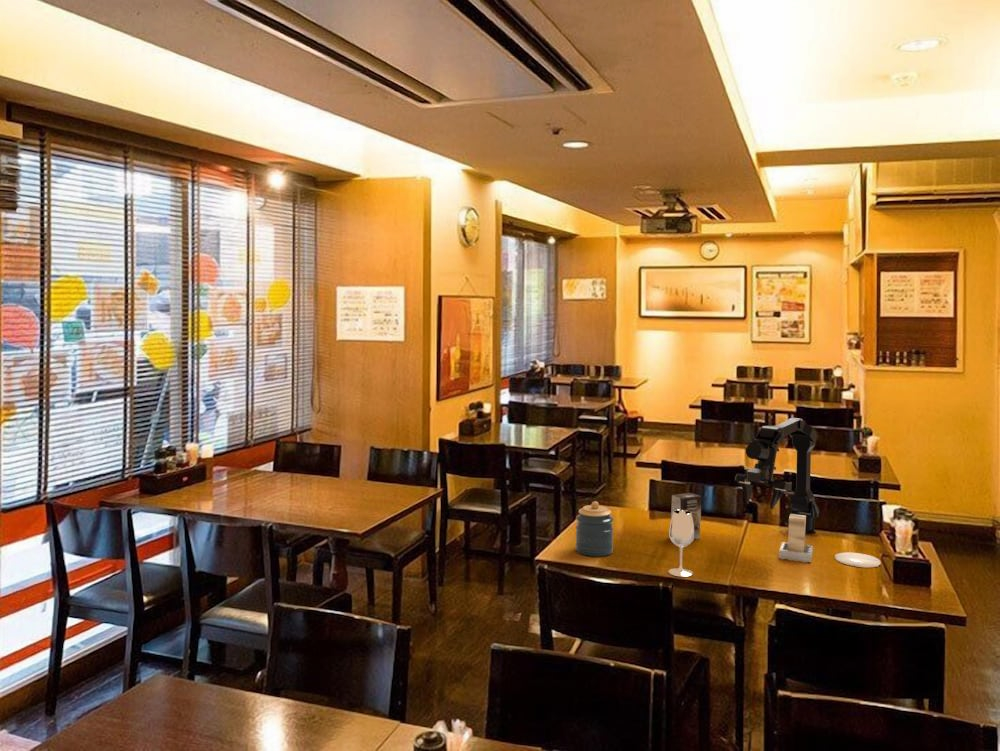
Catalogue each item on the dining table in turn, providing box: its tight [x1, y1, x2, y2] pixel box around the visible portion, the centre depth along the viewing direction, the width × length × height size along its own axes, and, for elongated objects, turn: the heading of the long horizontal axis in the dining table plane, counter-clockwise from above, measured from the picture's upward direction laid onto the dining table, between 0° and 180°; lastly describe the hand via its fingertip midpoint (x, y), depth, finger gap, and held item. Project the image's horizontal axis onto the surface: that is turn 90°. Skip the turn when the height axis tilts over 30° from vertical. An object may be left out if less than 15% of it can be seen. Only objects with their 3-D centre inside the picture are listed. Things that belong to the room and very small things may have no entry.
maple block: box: [787, 513, 806, 552], centre depth 271 cm, size 5×5×14 cm
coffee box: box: [670, 492, 702, 541], centre depth 292 cm, size 9×6×16 cm
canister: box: [575, 500, 615, 557], centre depth 276 cm, size 13×13×18 cm
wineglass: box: [668, 510, 694, 578], centre depth 254 cm, size 8×8×20 cm
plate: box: [834, 551, 882, 569], centre depth 268 cm, size 14×14×1 cm
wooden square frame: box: [778, 541, 814, 563], centre depth 272 cm, size 10×10×3 cm
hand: (759, 506), depth 278 cm, fingers open, 9 cm apart
